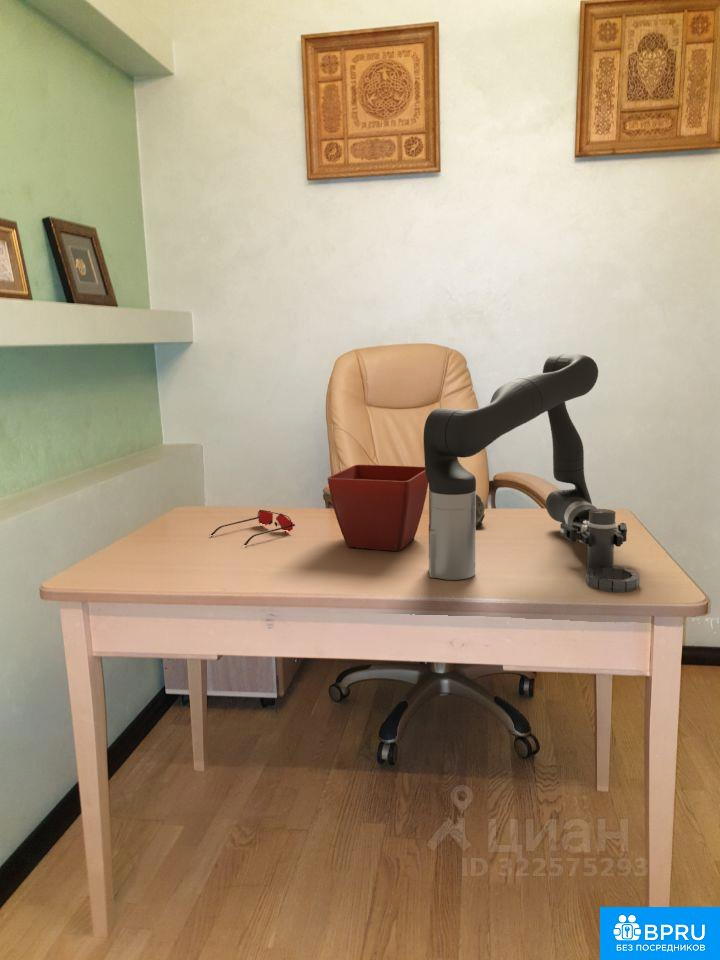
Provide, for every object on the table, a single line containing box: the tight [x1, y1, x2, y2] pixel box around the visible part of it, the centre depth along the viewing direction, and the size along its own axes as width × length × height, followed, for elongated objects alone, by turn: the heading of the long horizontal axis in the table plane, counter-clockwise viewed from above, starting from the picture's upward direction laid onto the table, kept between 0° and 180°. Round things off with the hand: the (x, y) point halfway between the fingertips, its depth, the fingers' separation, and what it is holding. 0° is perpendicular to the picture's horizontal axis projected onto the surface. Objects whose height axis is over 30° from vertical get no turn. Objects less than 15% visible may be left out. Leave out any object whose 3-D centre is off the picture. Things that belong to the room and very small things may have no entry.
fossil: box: [476, 493, 486, 527], centre depth 191 cm, size 11×9×10 cm
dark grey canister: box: [586, 508, 617, 570], centre depth 152 cm, size 5×5×12 cm
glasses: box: [210, 509, 296, 546], centre depth 184 cm, size 14×16×5 cm
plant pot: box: [327, 464, 429, 552], centre depth 174 cm, size 19×19×17 cm
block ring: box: [585, 565, 640, 593], centre depth 144 cm, size 9×9×2 cm
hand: (604, 541), depth 149 cm, fingers closed on dark grey canister, 5 cm apart
